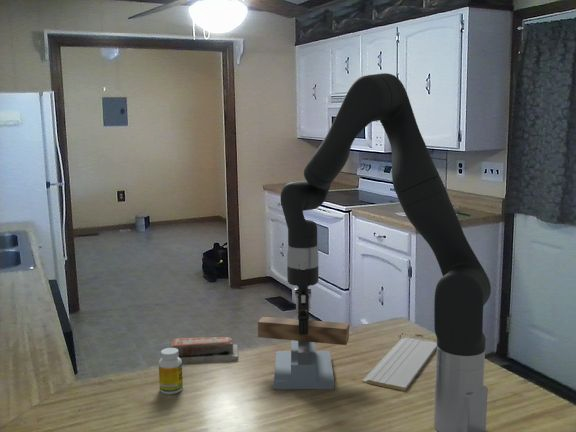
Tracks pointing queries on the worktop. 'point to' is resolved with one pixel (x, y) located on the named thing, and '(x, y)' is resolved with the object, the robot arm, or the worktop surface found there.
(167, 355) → the supplement bottle
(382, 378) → the baseboard molding
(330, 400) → the worktop surface
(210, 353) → the packaged product
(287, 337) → the walnut batten
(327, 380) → the ridge stand
